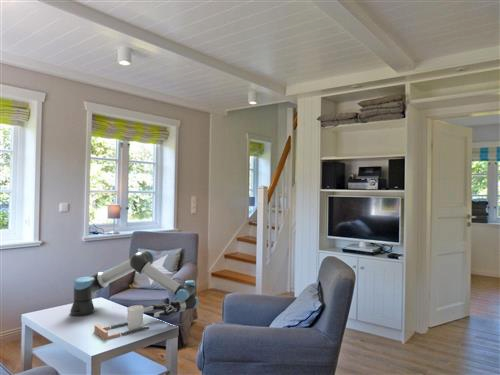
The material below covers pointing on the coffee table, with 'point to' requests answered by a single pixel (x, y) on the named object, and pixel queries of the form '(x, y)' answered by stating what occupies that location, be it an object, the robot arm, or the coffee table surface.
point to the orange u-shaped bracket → (104, 332)
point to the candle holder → (135, 316)
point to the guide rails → (129, 330)
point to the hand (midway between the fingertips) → (148, 312)
